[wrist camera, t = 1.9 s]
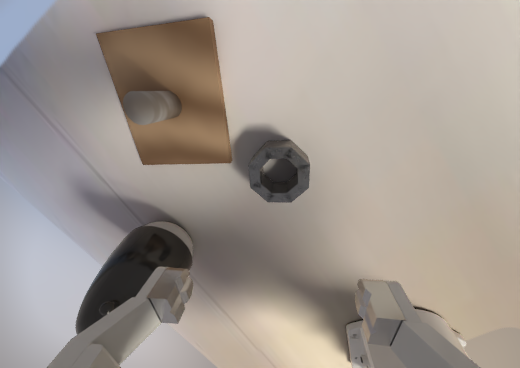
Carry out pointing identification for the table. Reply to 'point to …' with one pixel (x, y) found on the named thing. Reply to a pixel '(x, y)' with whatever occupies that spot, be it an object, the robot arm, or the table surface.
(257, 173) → the ring
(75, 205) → the table surface
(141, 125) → the piston stand
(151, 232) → the black rounded piece
